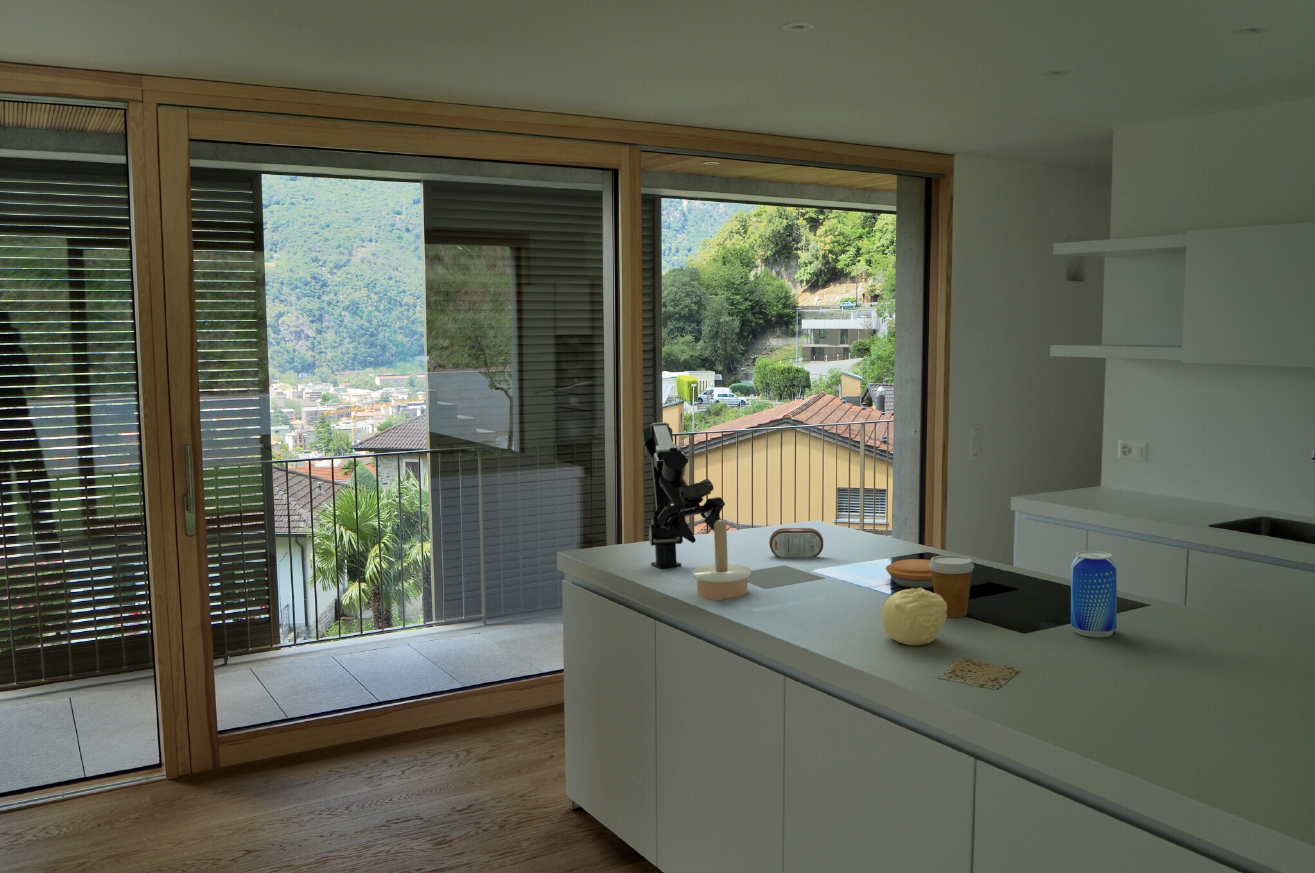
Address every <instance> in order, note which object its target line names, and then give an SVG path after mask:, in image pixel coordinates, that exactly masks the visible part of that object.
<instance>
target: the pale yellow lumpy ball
mask: <svg viewBox="0 0 1315 873" xmlns="http://www.w3.org/2000/svg"><path fill="white" fill-rule="evenodd" d="M946 611H947V604H946V602H945V601H944V599H943V598H942V597H941V596H940V595H938V594H935V593H934V592H932V591H929V590H926V589H925V588H912V587H911V588H909V589H907V588H906V589H902V590H900V591H896V592H895V593H893V594H892V595H891V596H890V597H889V598H887V600H886V602H885V603H884V605H883V609H882V611H881V612H882V613H881V620H882V626H883V628H884V631H885V633H886V635H888V637H889V638H891V639H892V640H894V641H896V642H898V643H900V644H904V645H907V646H923V645H928V644H931V643H932V642H933V641H934V640H935V639H936V638H937V637H938V635H939V634H940V631H941V629H942V627H943V624H944V623H945V622H946V621H947V618H948V617H947V614H946Z"/></svg>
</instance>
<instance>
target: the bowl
mask: <svg viewBox="0 0 1315 873" xmlns="http://www.w3.org/2000/svg"><path fill="white" fill-rule="evenodd" d="M696 586H697V587H696V589H697V592H696V593H697V596H698V597H699V596H700V598H702V599H706V600H711V601H726V600H727V599H732V598H737V597H741V596H744V595H746V594H747V593H748V590H749V587H748V582H747V579H744V580H740V581H734V582H706V581H700V580H697V579H696Z"/></svg>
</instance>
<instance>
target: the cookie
mask: <svg viewBox="0 0 1315 873" xmlns="http://www.w3.org/2000/svg"><path fill="white" fill-rule="evenodd" d="M955 661H956V662H958V663H956V662H955ZM955 661H954V662H955V663H953V662H952V663H951V664H954V665H952V666H953V667H949V668H951V669H947V671H948V670H949V671H951V672H948V673H949V674H948V673H943V674H944V675H946V676H943V675H942V677H948V679H954V680H960V679H961V680H964V681H963V682H973V683H972V684H978V685H980V686H989V687H992V688H996V687H997V686H1001V684H1002V682H1004V681H1006V680H1008V679H1010V677H1013V675H1015V676H1017V675H1016V673H1018V672H1019V673H1021V671H1020V670H1021V669H1017V668H1014V667H1013V666H1007V665H999V664H993V663H992V664H991V663H986V662H981V661H976V660H973V659H966V658H963V659H961V658H958V659H956V660H955ZM972 671H973V672H972ZM974 671H975V672H974ZM964 673H965V674H964ZM969 673H971V674H969ZM973 673H975V674H973ZM1019 673H1018V674H1019ZM949 675H950V676H949ZM967 675H974V676H967ZM938 677H941V676H938ZM968 677H969V678H968ZM971 677H972V678H971ZM1013 678H1014V677H1013ZM965 679H966V680H968V679H969V680H974V681H966V680H965ZM1010 680H1011V679H1010ZM998 684H999V685H998ZM994 686H996V687H994ZM1001 687H1002V686H1001Z"/></svg>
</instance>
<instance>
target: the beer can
mask: <svg viewBox="0 0 1315 873" xmlns="http://www.w3.org/2000/svg"><path fill="white" fill-rule="evenodd" d="M1075 555H1076V556H1075V558H1074V559H1073V561H1072V562H1071V564H1070V568H1071V569H1070V573H1071V574H1070V590H1071V591H1070V626H1071V627H1072V628H1073V630H1074V632H1075V633H1076V634H1077V635H1080V636H1084V637H1089V638H1090V637H1091V638H1107V637H1111V636H1112V635H1113V633H1114V632H1115V631H1116V630H1117V626H1118V624H1117V620H1118V619H1117V618H1118V616H1117V615H1118V612H1117V611H1118V610H1117V609H1118V606H1117V605H1118V602H1117V601H1118V599H1117V597H1118V566H1117V564H1116V562H1115V561H1114V558H1112V557H1113V555H1112V554H1111V553H1109V552H1105V551H1098V550H1097V551H1096V550H1083V551H1078V552H1076V554H1075Z"/></svg>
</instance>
